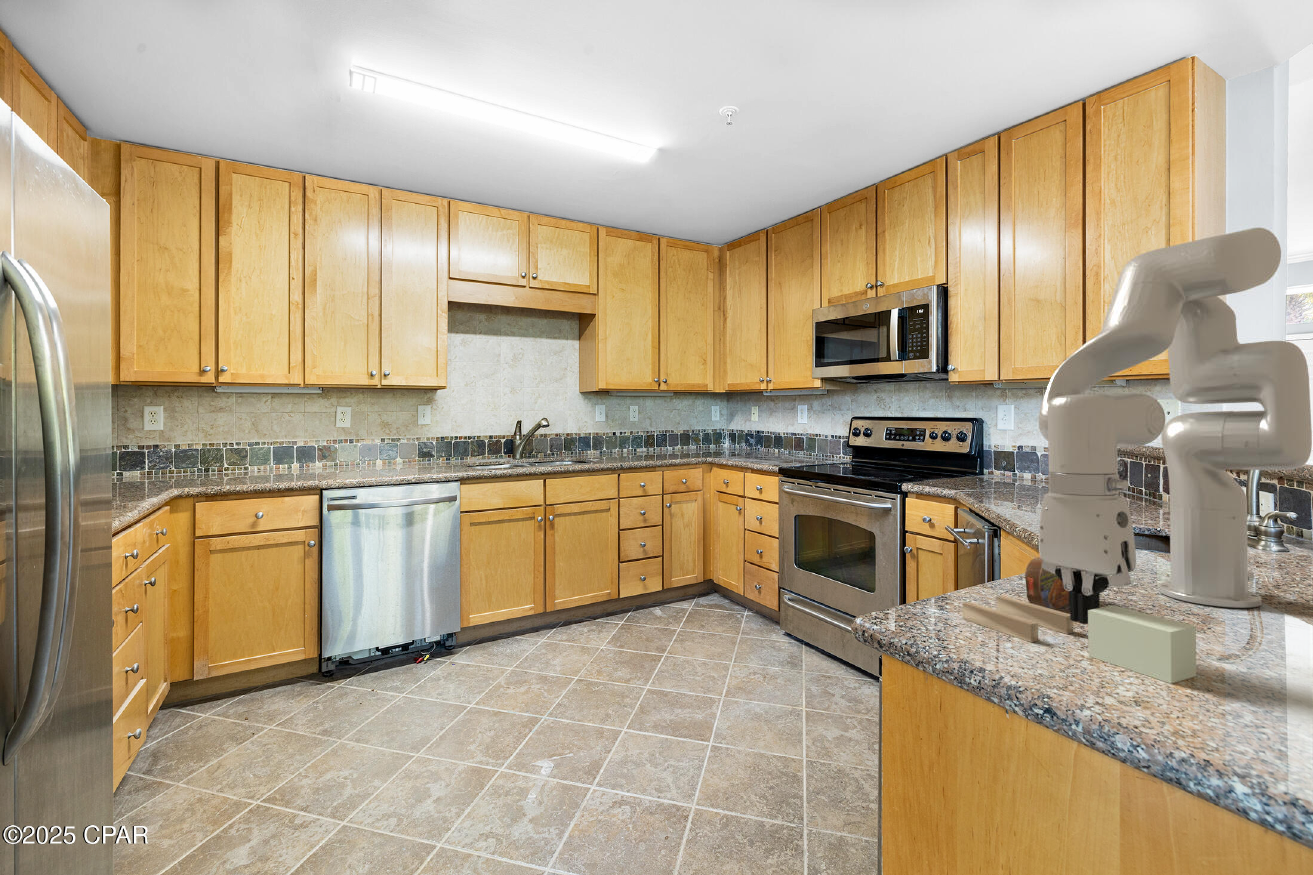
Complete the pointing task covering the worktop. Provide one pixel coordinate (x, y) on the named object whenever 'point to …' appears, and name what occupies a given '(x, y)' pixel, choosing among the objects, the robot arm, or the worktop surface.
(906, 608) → the worktop surface
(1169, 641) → the block
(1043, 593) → the tin
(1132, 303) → the robot arm
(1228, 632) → the worktop surface
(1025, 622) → the chute
